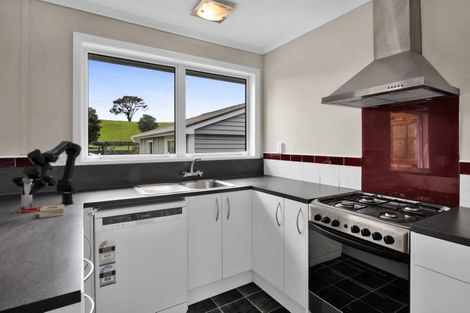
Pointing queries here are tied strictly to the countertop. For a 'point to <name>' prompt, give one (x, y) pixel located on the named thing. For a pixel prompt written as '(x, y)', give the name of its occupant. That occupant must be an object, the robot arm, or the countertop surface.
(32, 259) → the countertop surface
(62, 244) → the countertop surface
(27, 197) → the steel pin
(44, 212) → the socket block
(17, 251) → the countertop surface
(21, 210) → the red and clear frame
